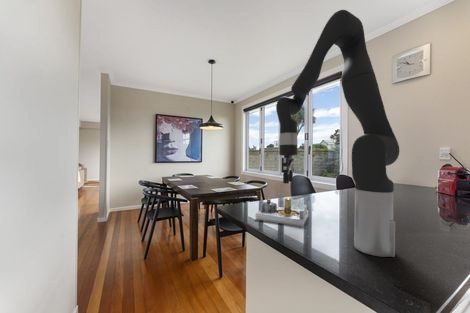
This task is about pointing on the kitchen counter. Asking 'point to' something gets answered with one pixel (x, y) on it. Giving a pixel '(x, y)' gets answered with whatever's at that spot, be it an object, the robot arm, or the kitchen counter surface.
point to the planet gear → (287, 208)
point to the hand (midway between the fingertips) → (288, 182)
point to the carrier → (271, 214)
